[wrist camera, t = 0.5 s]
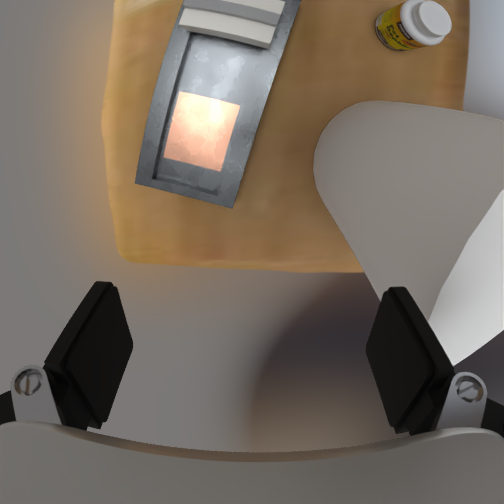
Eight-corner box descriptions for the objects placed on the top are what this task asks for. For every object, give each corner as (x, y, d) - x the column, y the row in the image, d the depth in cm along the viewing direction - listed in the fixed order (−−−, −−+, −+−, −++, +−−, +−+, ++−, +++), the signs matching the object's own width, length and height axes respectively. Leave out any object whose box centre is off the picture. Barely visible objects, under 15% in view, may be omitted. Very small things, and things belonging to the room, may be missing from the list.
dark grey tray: (198, -18, 24) (194, -26, 22) (298, 5, 26) (302, -3, 23) (143, 176, 36) (134, 183, 33) (233, 200, 38) (232, 208, 35)
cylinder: (284, 147, 35) (364, 280, 10) (397, 77, 30) (595, 94, 5) (354, 251, 41) (440, 428, 17) (448, 187, 36) (592, 302, 12)
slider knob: (202, -4, 24) (192, -21, 19) (281, 14, 25) (286, -2, 20) (188, 33, 26) (176, 21, 21) (267, 51, 28) (270, 42, 23)
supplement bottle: (366, 32, 27) (402, 14, 18) (386, 4, 25) (425, -17, 16) (400, 60, 29) (445, 54, 20) (419, 32, 26) (465, 21, 17)
